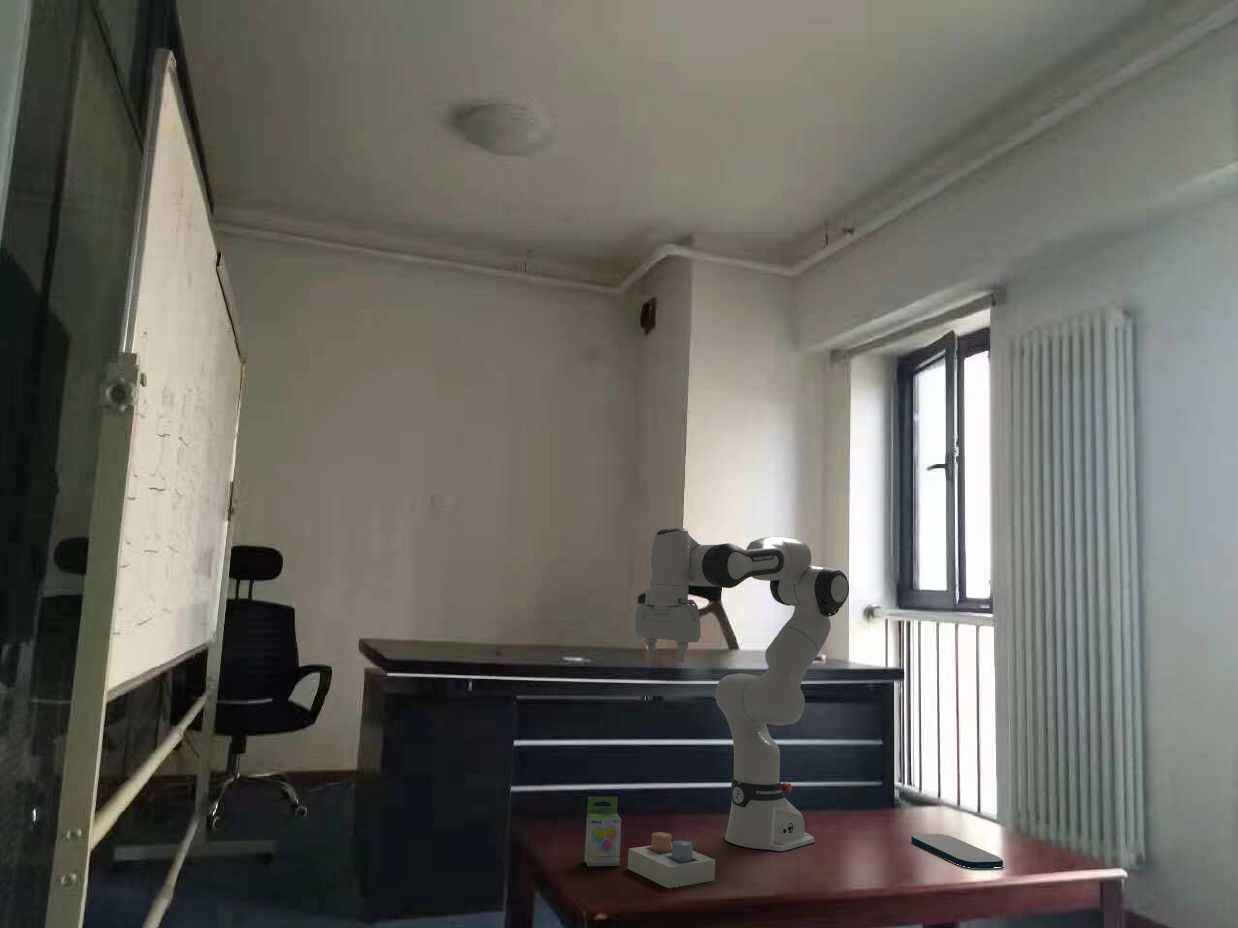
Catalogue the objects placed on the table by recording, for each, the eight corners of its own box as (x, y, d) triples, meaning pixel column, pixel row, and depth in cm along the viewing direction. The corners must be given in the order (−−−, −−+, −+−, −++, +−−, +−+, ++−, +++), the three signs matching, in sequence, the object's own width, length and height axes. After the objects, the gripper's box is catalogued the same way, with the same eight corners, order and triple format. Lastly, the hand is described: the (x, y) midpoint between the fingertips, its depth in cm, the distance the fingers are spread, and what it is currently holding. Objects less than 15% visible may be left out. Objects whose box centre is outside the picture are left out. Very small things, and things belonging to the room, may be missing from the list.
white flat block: (672, 861, 193) (673, 842, 193) (714, 880, 181) (715, 859, 182) (627, 868, 186) (628, 848, 187) (668, 888, 174) (669, 866, 175)
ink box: (587, 867, 186) (590, 800, 188) (583, 861, 189) (587, 796, 191) (619, 866, 187) (622, 800, 189) (615, 861, 191) (618, 796, 193)
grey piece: (683, 859, 184) (684, 839, 185) (696, 865, 181) (696, 844, 181) (667, 862, 182) (668, 841, 182) (680, 867, 178) (680, 847, 179)
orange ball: (662, 850, 190) (663, 831, 190) (674, 856, 186) (675, 836, 187) (647, 853, 187) (648, 833, 188) (659, 858, 184) (659, 838, 185)
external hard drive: (905, 842, 221) (905, 834, 222) (945, 841, 224) (945, 833, 224) (966, 871, 199) (966, 862, 199) (1009, 870, 202) (1009, 861, 202)
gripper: (708, 600, 195) (706, 664, 193) (653, 597, 212) (650, 656, 210) (686, 599, 191) (683, 664, 189) (632, 596, 208) (628, 656, 206)
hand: (665, 660), depth 200 cm, fingers open, 8 cm apart
